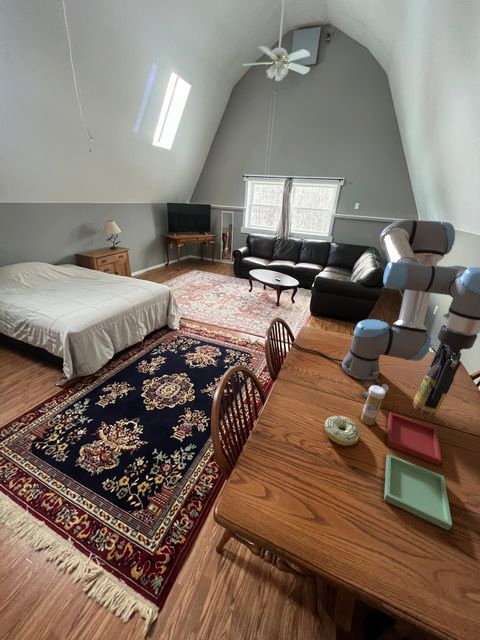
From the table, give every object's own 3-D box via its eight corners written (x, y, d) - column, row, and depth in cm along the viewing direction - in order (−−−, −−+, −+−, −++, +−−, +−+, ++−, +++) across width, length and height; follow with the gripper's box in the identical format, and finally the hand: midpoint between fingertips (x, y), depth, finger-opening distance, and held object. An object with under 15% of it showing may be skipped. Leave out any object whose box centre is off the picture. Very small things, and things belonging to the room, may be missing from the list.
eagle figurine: (369, 381, 110) (354, 383, 105) (383, 374, 104) (368, 375, 100) (378, 399, 106) (363, 402, 101) (393, 393, 101) (378, 395, 96)
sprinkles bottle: (358, 420, 91) (368, 389, 85) (362, 413, 94) (372, 382, 89) (372, 428, 89) (383, 396, 83) (376, 420, 92) (387, 389, 86)
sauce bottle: (407, 404, 81) (429, 348, 73) (420, 400, 84) (444, 345, 75) (428, 420, 76) (455, 361, 68) (442, 414, 78) (469, 357, 70)
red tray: (386, 445, 83) (388, 440, 82) (388, 416, 94) (389, 412, 93) (439, 465, 77) (441, 460, 76) (434, 432, 88) (436, 428, 87)
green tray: (383, 500, 67) (386, 495, 66) (386, 458, 78) (388, 453, 77) (448, 530, 62) (452, 525, 61) (441, 481, 73) (444, 476, 72)
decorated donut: (363, 434, 86) (366, 425, 84) (350, 455, 79) (353, 446, 77) (332, 416, 92) (335, 408, 91) (318, 434, 85) (320, 426, 83)
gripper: (438, 313, 78) (412, 377, 88) (447, 341, 62) (415, 415, 72) (469, 319, 75) (439, 385, 84) (488, 350, 59) (449, 426, 69)
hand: (428, 399), depth 78 cm, fingers closed on sauce bottle, 6 cm apart
